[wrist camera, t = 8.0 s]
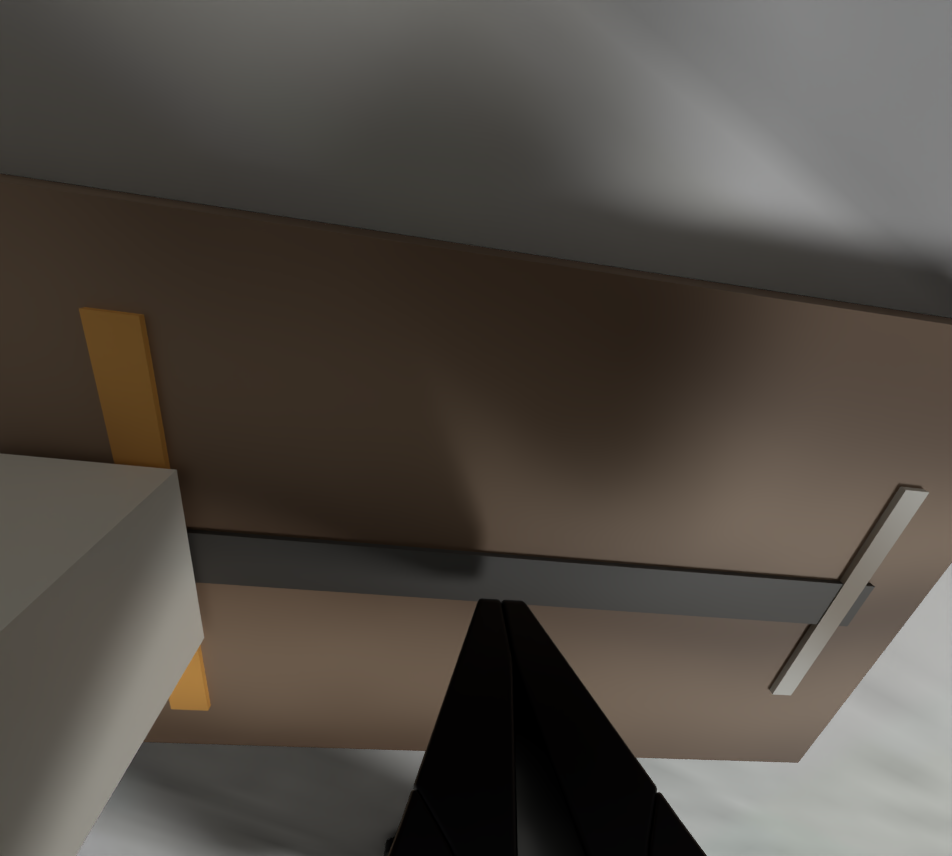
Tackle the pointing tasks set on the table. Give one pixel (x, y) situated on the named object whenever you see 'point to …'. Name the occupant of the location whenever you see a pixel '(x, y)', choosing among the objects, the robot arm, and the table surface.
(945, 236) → the table surface
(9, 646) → the fader tab
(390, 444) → the board
